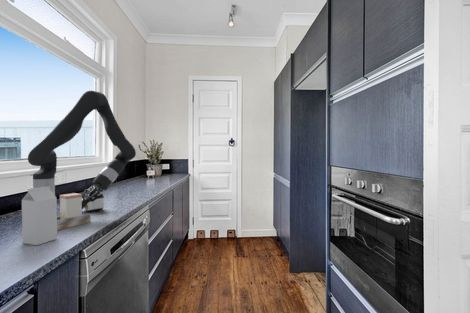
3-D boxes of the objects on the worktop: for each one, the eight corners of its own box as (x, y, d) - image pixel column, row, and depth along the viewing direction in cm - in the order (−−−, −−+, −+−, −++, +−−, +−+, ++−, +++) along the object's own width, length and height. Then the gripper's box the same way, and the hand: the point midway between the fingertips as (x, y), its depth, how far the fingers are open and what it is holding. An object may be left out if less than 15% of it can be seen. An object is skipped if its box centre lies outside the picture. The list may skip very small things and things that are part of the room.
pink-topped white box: (66, 222, 105) (66, 196, 105) (59, 220, 109) (59, 195, 109) (82, 219, 111) (81, 194, 110) (75, 217, 114) (75, 193, 114)
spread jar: (106, 210, 134) (106, 188, 134) (84, 215, 125) (84, 191, 125) (94, 207, 141) (94, 187, 141) (72, 212, 131) (72, 189, 131)
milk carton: (57, 239, 91) (56, 186, 90) (36, 246, 84) (35, 189, 84) (43, 236, 93) (42, 185, 93) (22, 243, 86) (21, 188, 86)
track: (42, 233, 97) (42, 219, 97) (33, 229, 102) (33, 215, 102) (90, 222, 112) (90, 209, 112) (80, 219, 117) (80, 207, 117)
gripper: (93, 172, 124) (66, 201, 114) (108, 173, 117) (80, 204, 107) (103, 182, 129) (78, 210, 119) (118, 184, 121) (93, 214, 111)
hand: (79, 207), depth 113 cm, fingers closed
